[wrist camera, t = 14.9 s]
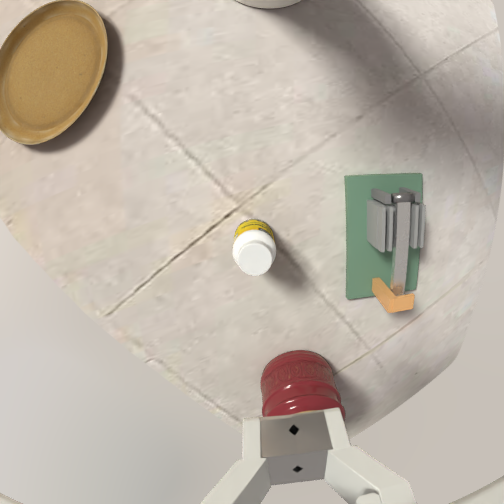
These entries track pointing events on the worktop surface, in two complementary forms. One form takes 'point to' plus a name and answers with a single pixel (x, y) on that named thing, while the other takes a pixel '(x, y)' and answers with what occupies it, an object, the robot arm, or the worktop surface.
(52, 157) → the worktop surface
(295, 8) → the worktop surface
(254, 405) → the worktop surface
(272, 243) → the supplement bottle
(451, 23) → the worktop surface
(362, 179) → the heatsink base
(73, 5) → the plant saucer
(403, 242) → the strap
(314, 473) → the robot arm
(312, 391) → the canister
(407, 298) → the bracket
